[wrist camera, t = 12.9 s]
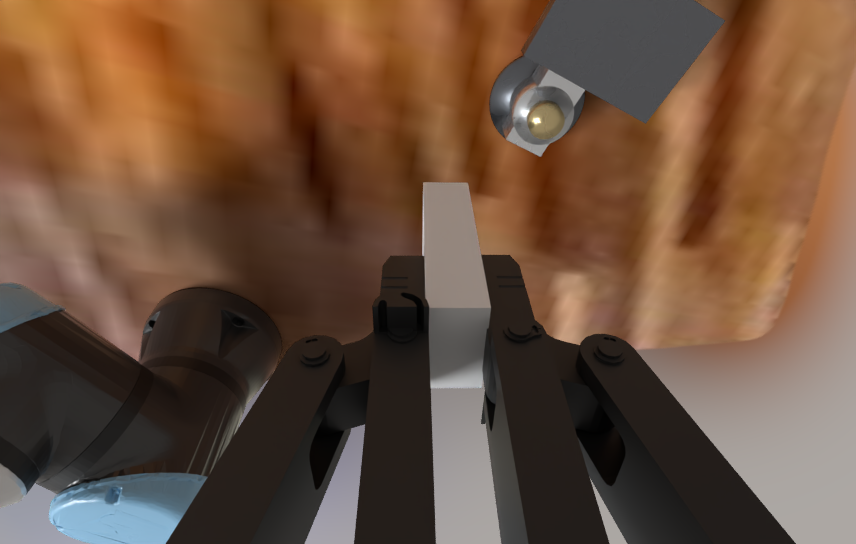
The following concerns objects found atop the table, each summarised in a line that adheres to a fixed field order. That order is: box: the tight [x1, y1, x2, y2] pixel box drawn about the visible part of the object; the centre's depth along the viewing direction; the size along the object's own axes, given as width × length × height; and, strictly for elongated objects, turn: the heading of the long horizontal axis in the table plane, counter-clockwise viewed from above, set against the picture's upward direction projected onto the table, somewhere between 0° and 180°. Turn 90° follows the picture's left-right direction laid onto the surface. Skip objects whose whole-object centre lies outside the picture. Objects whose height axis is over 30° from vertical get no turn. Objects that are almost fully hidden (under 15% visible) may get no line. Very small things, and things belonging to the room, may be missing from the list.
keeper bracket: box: [489, 0, 725, 140], centre depth 40 cm, size 16×11×6 cm
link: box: [502, 64, 585, 157], centre depth 38 cm, size 22×5×3 cm, turn 154°
